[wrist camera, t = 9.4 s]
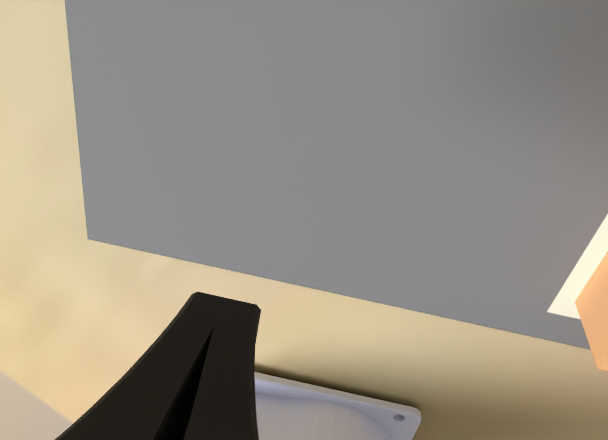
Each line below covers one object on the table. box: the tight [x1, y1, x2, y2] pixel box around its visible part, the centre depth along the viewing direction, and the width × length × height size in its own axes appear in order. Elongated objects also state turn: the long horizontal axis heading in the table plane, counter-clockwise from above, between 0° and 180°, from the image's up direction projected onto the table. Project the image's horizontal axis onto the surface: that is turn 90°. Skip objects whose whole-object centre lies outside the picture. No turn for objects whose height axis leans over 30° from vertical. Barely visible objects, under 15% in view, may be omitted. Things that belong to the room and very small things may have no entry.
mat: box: [65, 0, 608, 350], centre depth 17 cm, size 31×14×1 cm, turn 81°
